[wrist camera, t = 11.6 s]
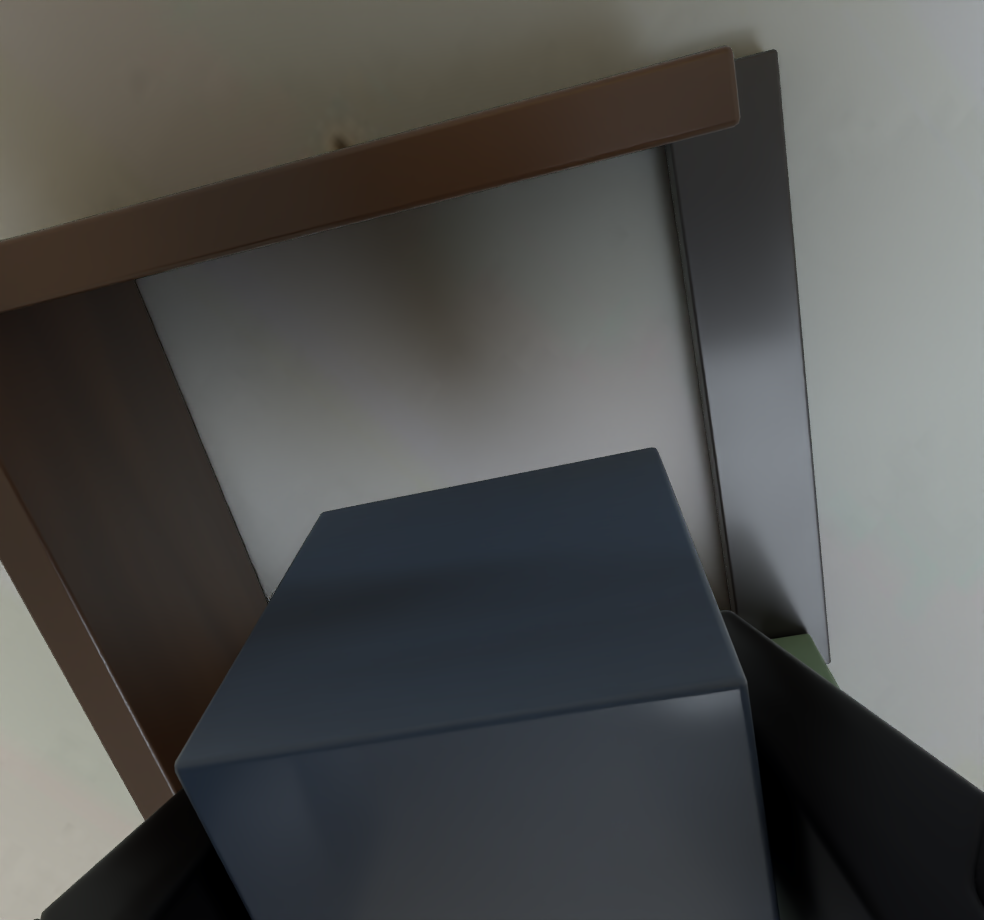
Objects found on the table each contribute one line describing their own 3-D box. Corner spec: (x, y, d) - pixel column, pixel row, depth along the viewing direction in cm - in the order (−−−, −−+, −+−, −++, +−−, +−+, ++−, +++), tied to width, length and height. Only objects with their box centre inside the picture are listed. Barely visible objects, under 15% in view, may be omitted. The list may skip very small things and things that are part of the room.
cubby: (766, 52, 12) (907, -6, 7) (821, 647, 16) (932, 843, 12) (74, 236, 14) (-157, 282, 9) (287, 729, 18) (202, 928, 14)
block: (703, 721, 10) (801, 1067, 6) (411, 763, 10) (342, 1103, 7) (657, 443, 8) (748, 681, 5) (319, 510, 9) (166, 767, 5)
